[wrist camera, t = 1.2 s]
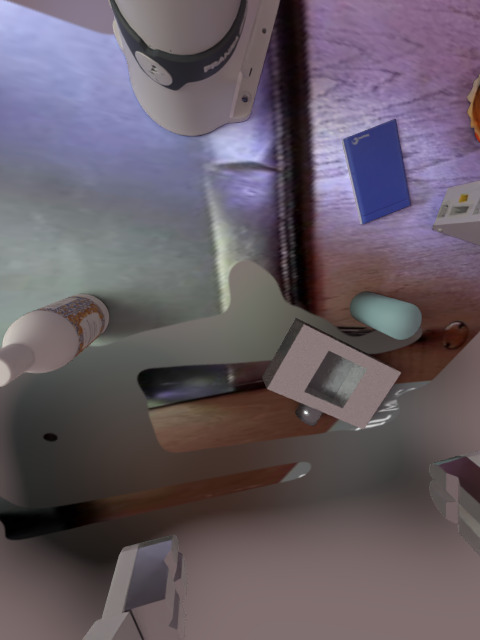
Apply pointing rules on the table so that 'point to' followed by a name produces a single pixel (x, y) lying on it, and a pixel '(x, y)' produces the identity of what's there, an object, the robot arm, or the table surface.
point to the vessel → (475, 107)
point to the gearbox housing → (328, 376)
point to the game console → (461, 213)
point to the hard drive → (377, 171)
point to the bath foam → (51, 336)
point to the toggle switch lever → (387, 314)
